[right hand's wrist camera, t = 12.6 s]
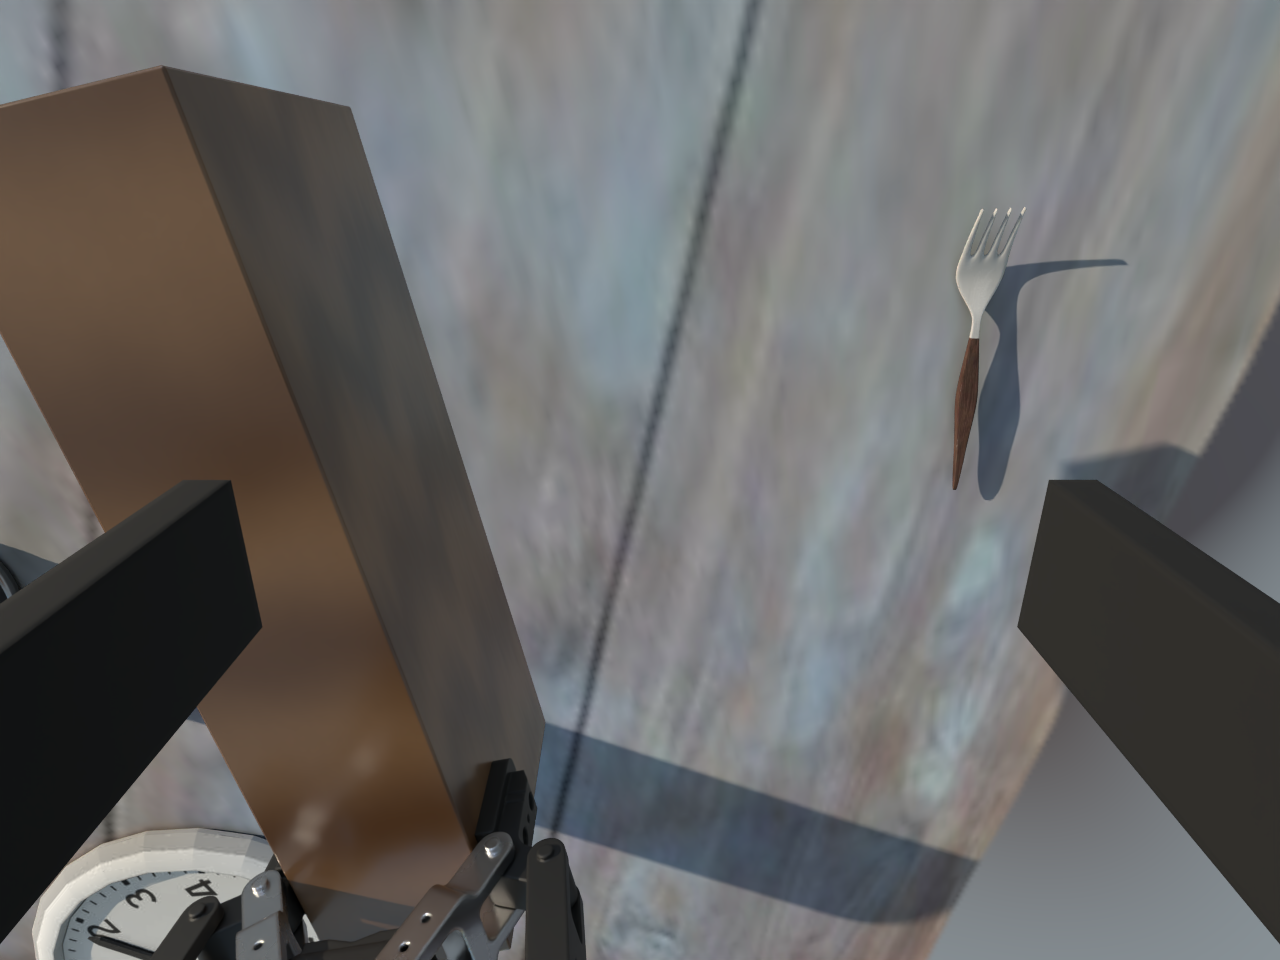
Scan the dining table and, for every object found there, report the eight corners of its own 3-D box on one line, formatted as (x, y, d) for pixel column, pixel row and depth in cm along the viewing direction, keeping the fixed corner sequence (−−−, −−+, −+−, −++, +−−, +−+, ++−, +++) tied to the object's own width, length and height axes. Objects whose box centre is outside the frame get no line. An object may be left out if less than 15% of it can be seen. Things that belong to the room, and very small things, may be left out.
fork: (929, 487, 46) (941, 500, 44) (962, 207, 40) (978, 208, 38) (972, 485, 46) (986, 498, 44) (1012, 205, 40) (1030, 207, 38)
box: (183, 145, 27) (-109, 130, 17) (350, 106, 27) (162, 63, 16) (422, 744, 38) (337, 977, 27) (546, 722, 37) (511, 950, 26)
